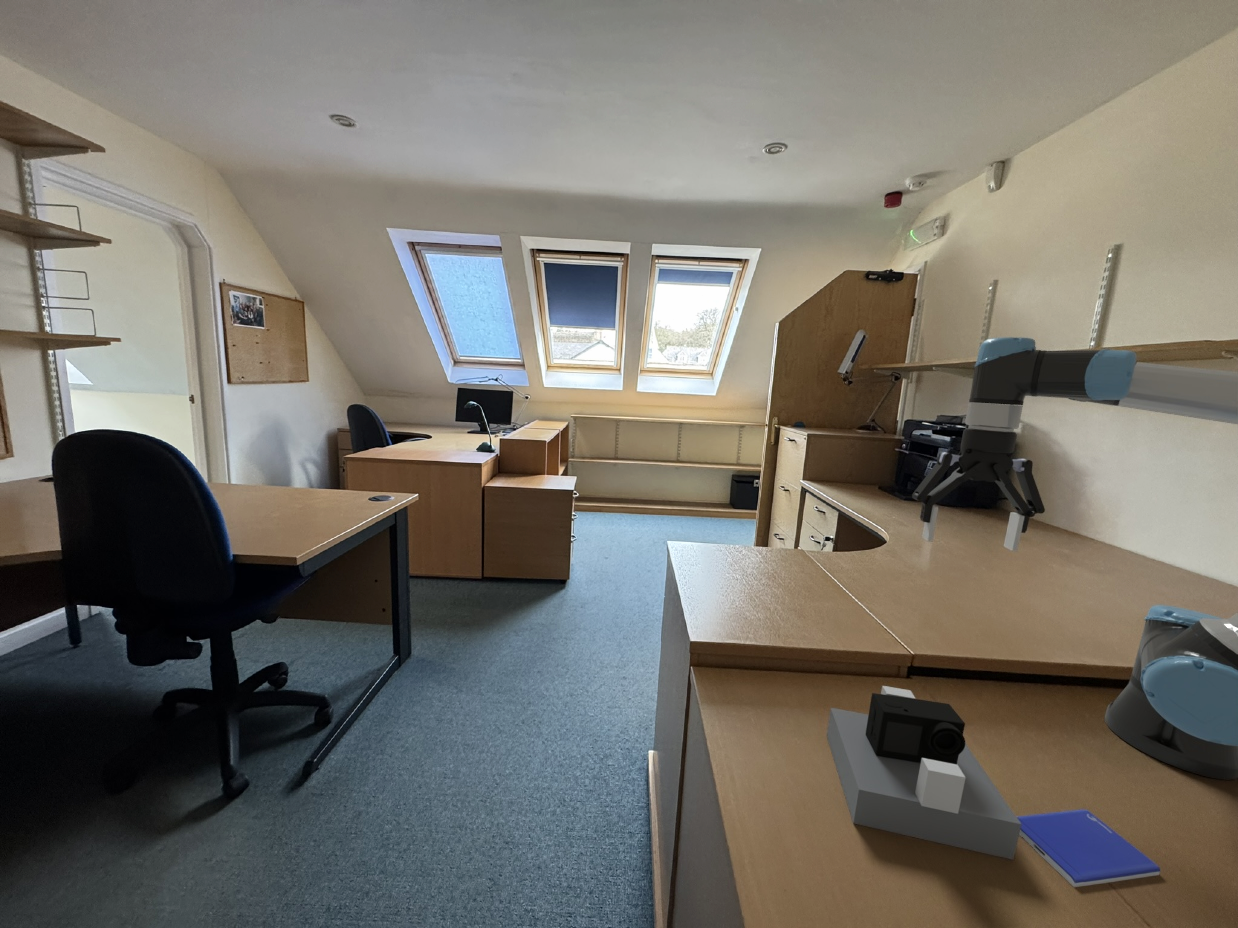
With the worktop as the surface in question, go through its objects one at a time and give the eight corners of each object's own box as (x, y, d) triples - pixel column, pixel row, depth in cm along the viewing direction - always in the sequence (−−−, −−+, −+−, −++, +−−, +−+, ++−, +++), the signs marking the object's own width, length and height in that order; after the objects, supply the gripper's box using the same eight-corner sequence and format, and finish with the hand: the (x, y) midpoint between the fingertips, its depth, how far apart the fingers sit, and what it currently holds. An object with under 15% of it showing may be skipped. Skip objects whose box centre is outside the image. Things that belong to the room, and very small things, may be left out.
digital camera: (878, 762, 65) (886, 716, 63) (864, 734, 70) (871, 691, 69) (961, 776, 63) (971, 729, 62) (940, 746, 68) (949, 702, 67)
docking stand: (949, 757, 73) (961, 699, 72) (1015, 863, 57) (1032, 790, 55) (825, 733, 77) (834, 677, 75) (854, 826, 60) (866, 757, 59)
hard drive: (1084, 807, 64) (1007, 815, 62) (1161, 867, 56) (1076, 879, 54) (1082, 817, 65) (1005, 825, 62) (1158, 878, 57) (1073, 891, 55)
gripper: (1057, 432, 85) (1033, 546, 88) (904, 421, 89) (887, 529, 93) (1089, 436, 77) (1061, 560, 81) (920, 424, 82) (901, 541, 86)
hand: (967, 544), depth 87 cm, fingers open, 13 cm apart
